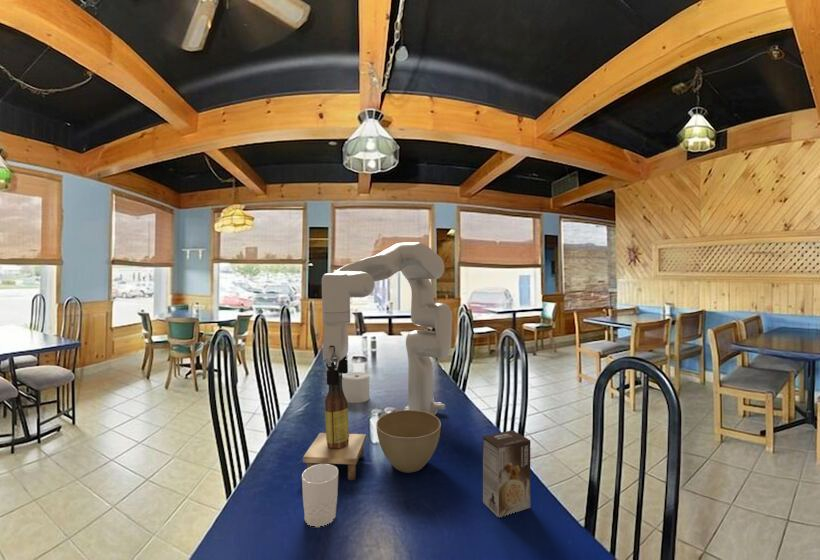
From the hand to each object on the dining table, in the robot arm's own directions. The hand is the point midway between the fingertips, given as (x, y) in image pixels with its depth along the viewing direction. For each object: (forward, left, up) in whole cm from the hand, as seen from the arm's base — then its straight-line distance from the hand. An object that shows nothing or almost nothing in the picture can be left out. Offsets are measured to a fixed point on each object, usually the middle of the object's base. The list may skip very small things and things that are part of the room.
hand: (337, 378), depth 102 cm
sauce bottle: (0, 0, -19) cm, 19 cm away
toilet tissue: (+6, -51, -25) cm, 57 cm away
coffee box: (-44, +15, -25) cm, 52 cm away
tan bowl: (-20, -1, -25) cm, 32 cm away
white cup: (-2, +22, -25) cm, 33 cm away
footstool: (0, +1, -25) cm, 25 cm away
